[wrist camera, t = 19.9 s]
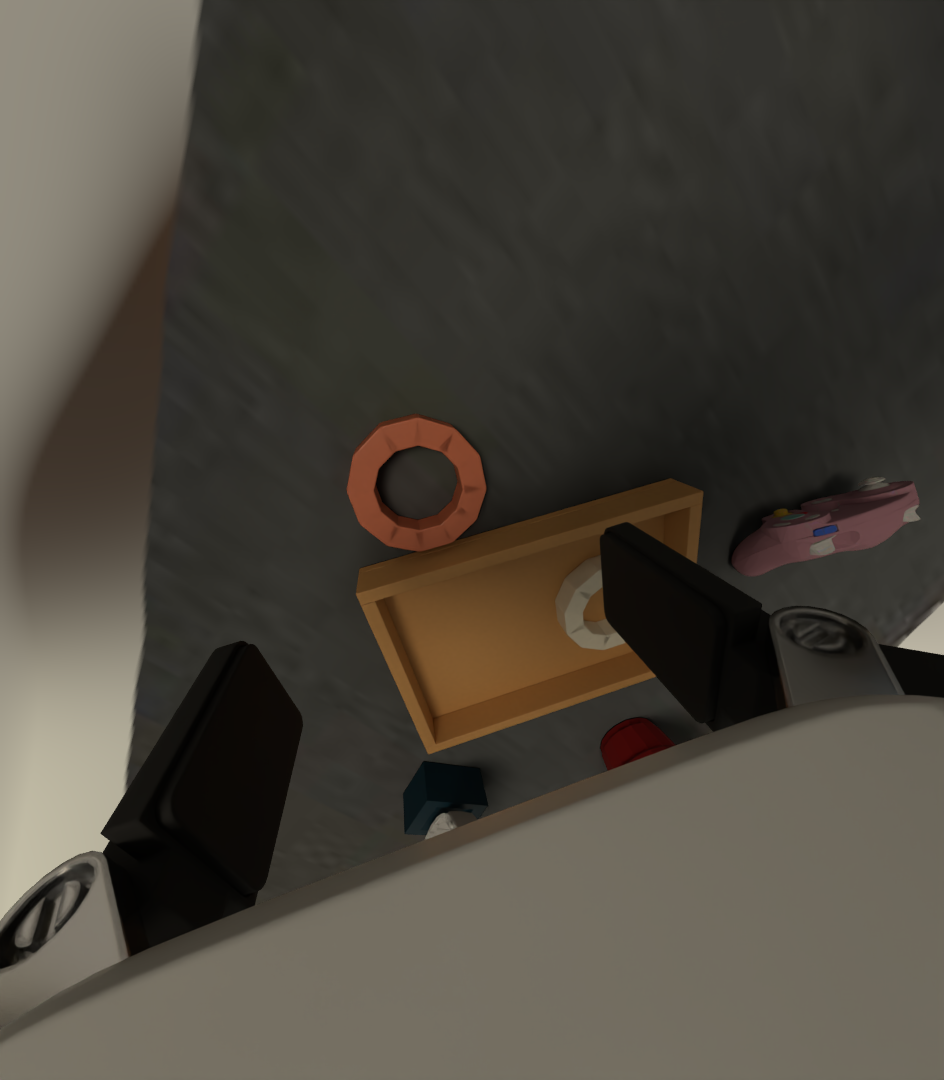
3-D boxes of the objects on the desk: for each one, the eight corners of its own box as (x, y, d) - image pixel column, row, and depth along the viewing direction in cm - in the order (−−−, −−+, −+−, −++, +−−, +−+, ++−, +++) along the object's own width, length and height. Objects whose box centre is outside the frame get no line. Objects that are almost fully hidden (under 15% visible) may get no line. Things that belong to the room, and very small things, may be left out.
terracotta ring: (323, 482, 19) (317, 492, 18) (415, 385, 18) (417, 387, 17) (418, 559, 22) (420, 572, 21) (502, 480, 21) (510, 488, 20)
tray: (359, 568, 22) (355, 594, 19) (670, 477, 23) (704, 491, 21) (424, 721, 28) (428, 755, 26) (662, 641, 30) (687, 666, 28)
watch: (394, 807, 32) (397, 996, 23) (432, 747, 30) (453, 930, 20) (450, 811, 34) (474, 986, 25) (489, 755, 32) (533, 925, 22)
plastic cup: (695, 692, 34) (832, 838, 24) (654, 767, 39) (754, 918, 28) (595, 698, 32) (699, 865, 21) (562, 777, 36) (636, 949, 25)
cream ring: (550, 569, 24) (560, 582, 22) (647, 540, 24) (662, 550, 23) (560, 646, 27) (570, 661, 26) (645, 618, 28) (659, 632, 26)
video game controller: (823, 480, 28) (946, 460, 21) (842, 535, 28) (970, 533, 21) (709, 522, 28) (797, 515, 21) (728, 577, 28) (822, 590, 21)
